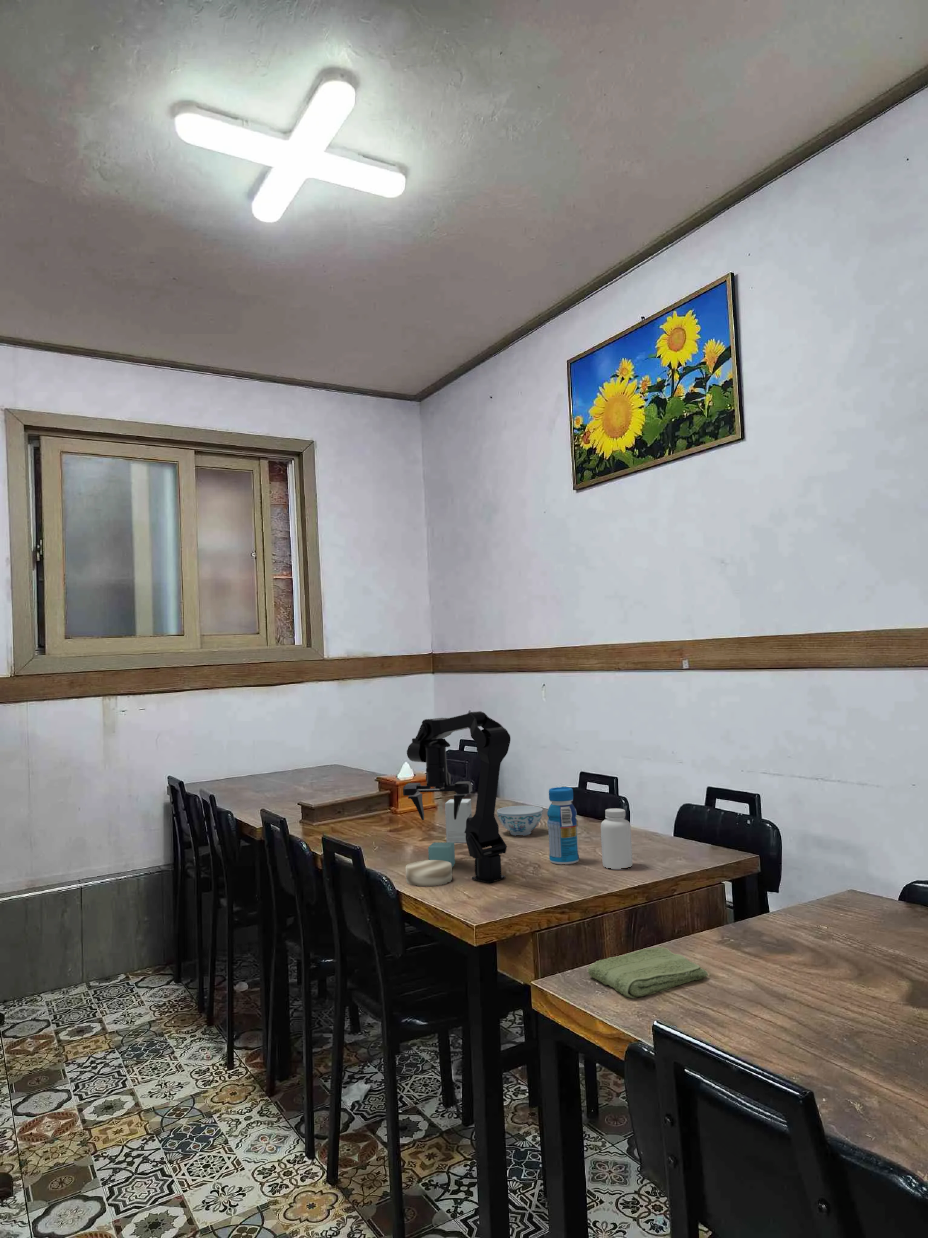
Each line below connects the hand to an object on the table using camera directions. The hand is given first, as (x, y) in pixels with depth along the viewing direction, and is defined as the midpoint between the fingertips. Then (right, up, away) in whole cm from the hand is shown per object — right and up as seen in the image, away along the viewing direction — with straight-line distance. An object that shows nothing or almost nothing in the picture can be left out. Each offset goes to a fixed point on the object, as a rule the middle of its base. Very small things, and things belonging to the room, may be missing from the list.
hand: (439, 819), depth 226 cm
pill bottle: (+48, -11, -9) cm, 50 cm away
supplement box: (+6, -15, +32) cm, 35 cm away
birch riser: (-2, -12, -15) cm, 19 cm away
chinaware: (+25, -14, +38) cm, 48 cm away
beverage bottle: (+35, -12, -1) cm, 37 cm away
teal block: (+1, -13, -1) cm, 13 cm away
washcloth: (+39, -7, -85) cm, 94 cm away
